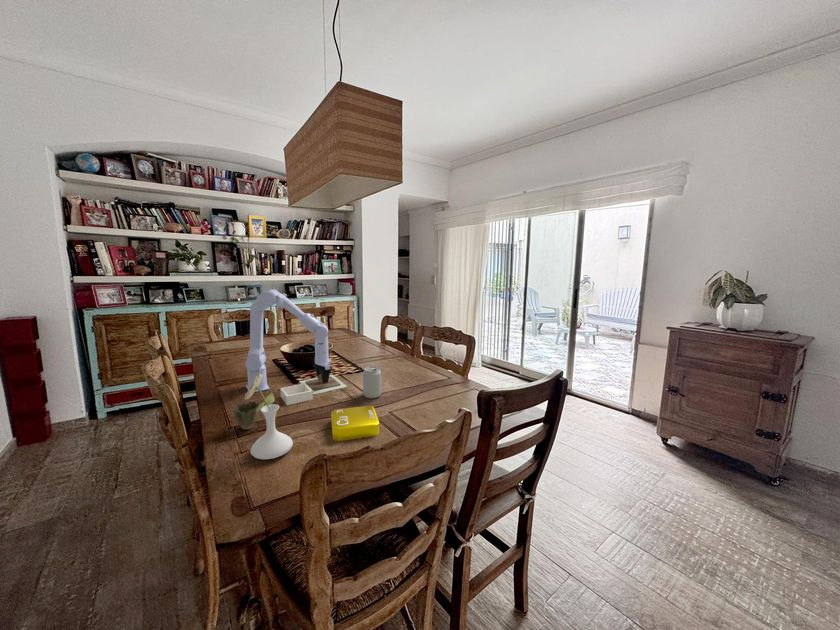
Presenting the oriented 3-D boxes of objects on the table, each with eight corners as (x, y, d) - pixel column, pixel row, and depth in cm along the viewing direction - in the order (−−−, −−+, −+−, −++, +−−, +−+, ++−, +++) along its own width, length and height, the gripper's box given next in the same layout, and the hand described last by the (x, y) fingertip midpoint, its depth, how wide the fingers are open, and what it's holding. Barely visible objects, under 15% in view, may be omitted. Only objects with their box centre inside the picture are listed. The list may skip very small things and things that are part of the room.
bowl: (280, 397, 134) (280, 388, 133) (305, 392, 139) (305, 383, 139) (287, 406, 126) (286, 396, 125) (312, 400, 131) (312, 390, 131)
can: (377, 400, 132) (377, 372, 131) (360, 398, 134) (360, 370, 132) (383, 393, 140) (383, 366, 138) (366, 391, 141) (366, 364, 139)
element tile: (380, 436, 106) (380, 422, 105) (332, 443, 102) (332, 428, 101) (373, 415, 120) (373, 403, 119) (331, 420, 116) (331, 408, 115)
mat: (299, 382, 150) (299, 381, 150) (332, 375, 160) (332, 374, 159) (311, 395, 136) (311, 394, 136) (347, 387, 145) (347, 386, 145)
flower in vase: (270, 438, 103) (265, 362, 99) (301, 445, 100) (297, 366, 96) (236, 462, 91) (229, 377, 86) (270, 470, 87) (264, 382, 83)
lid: (305, 382, 149) (305, 373, 148) (330, 377, 156) (330, 369, 155) (313, 391, 139) (313, 382, 139) (340, 385, 146) (340, 376, 146)
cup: (233, 435, 104) (231, 412, 103) (236, 425, 111) (234, 403, 109) (259, 431, 107) (258, 408, 106) (260, 421, 114) (259, 399, 112)
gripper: (336, 354, 142) (337, 383, 144) (324, 346, 153) (325, 374, 155) (320, 356, 138) (321, 387, 140) (309, 348, 149) (311, 377, 151)
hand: (322, 380), depth 147 cm, fingers open, 6 cm apart
